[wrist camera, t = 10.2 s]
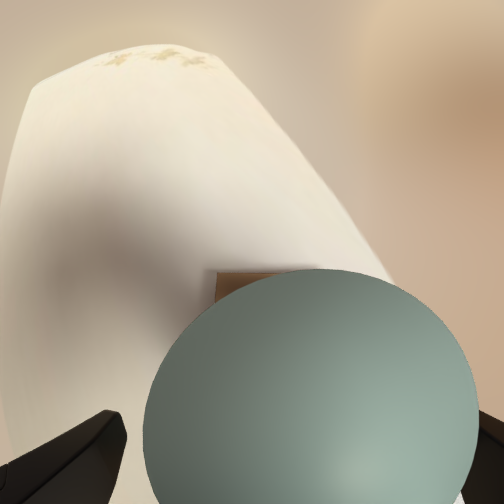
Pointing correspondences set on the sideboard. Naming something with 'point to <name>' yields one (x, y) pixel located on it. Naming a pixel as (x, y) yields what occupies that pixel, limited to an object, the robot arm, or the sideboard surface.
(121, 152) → the sideboard surface
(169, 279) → the sideboard surface
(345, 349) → the dowel
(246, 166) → the sideboard surface
